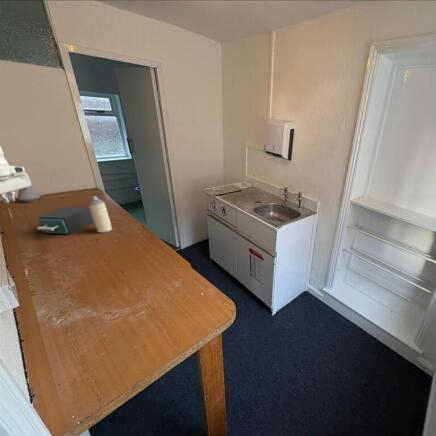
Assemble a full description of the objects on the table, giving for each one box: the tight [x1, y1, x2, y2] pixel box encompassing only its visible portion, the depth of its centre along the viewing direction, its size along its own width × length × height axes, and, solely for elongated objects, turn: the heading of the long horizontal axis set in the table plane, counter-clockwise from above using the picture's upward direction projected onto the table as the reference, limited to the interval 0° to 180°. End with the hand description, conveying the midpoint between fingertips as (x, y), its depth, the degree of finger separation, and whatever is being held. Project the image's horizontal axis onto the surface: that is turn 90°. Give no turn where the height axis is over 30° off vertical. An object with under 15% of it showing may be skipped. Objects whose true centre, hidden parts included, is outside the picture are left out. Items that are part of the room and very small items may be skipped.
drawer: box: [36, 218, 69, 235], centre depth 127 cm, size 19×12×8 cm, turn 0°
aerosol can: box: [88, 195, 113, 234], centre depth 127 cm, size 7×7×20 cm
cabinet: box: [38, 206, 94, 235], centre depth 130 cm, size 16×14×10 cm
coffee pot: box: [17, 185, 42, 203], centre depth 162 cm, size 21×12×15 cm, turn 48°
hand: (9, 202), depth 103 cm, fingers closed
